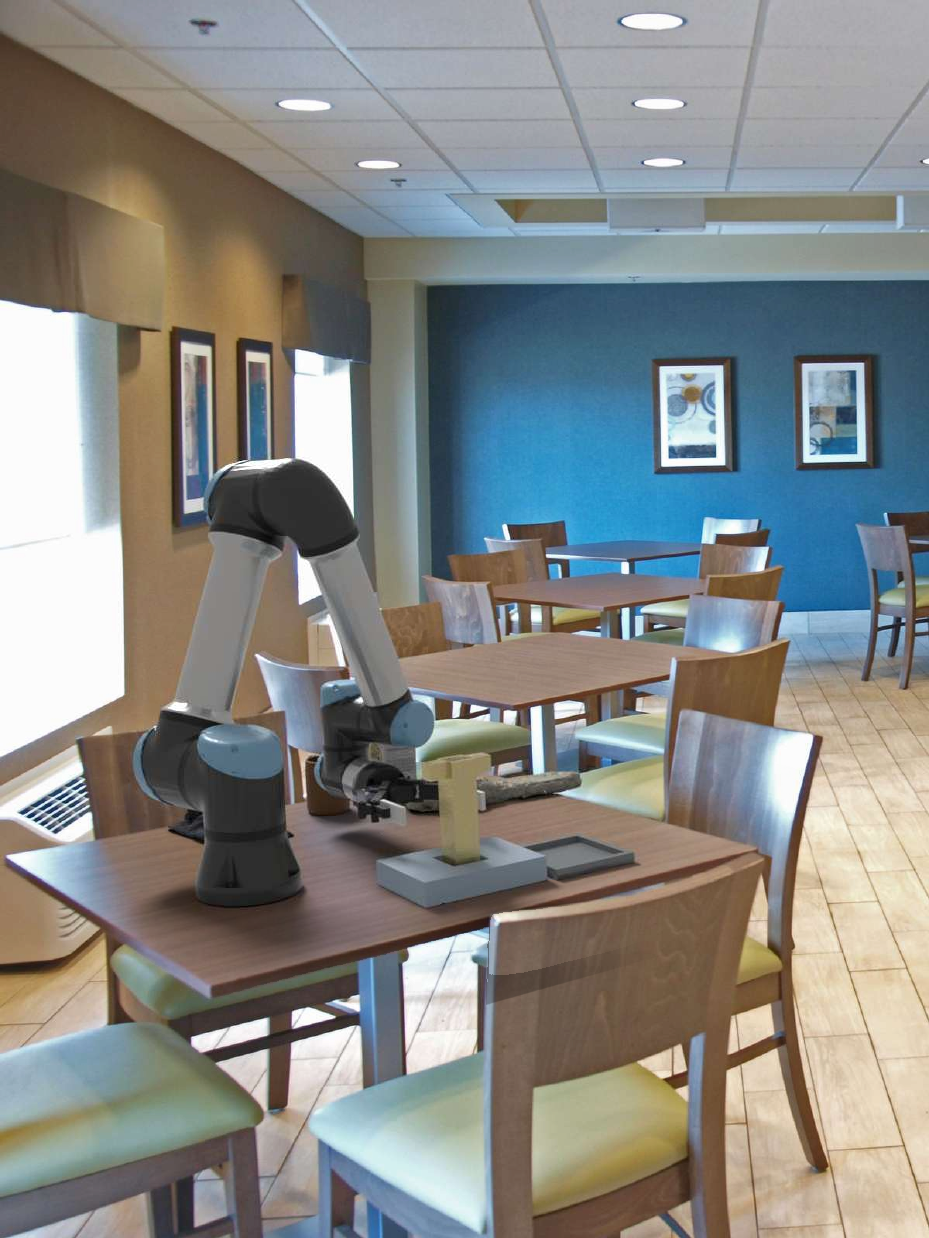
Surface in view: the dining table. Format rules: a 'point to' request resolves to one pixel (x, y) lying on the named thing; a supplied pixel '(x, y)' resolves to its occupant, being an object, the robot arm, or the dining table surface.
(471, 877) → the cover plate
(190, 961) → the dining table surface
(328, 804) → the mug
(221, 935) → the dining table surface
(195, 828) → the dark slate chunk
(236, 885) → the robot arm
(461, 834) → the t key
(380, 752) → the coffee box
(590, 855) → the tray
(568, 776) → the long grey stone
